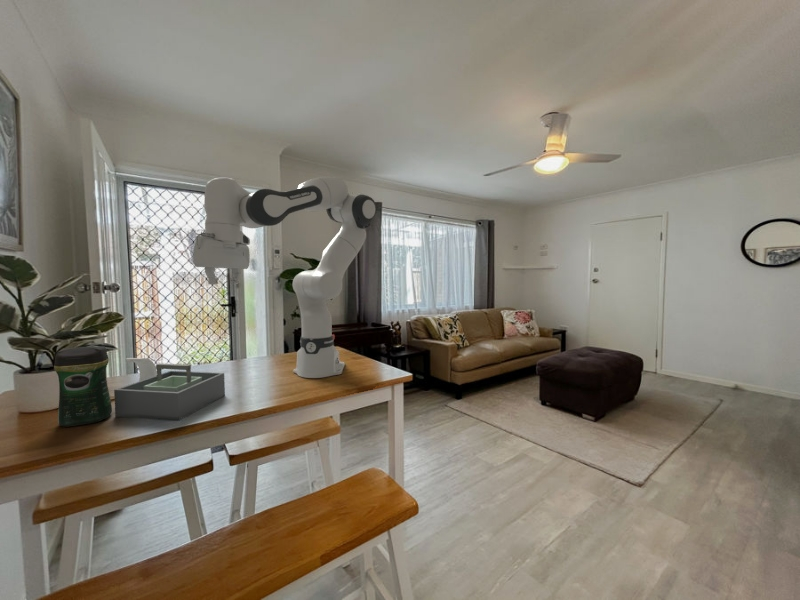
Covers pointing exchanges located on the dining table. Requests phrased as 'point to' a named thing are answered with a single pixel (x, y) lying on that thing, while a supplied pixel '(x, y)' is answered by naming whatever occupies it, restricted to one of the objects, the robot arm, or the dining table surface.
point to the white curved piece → (144, 367)
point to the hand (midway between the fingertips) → (224, 284)
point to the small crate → (173, 379)
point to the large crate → (168, 397)
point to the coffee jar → (82, 385)
